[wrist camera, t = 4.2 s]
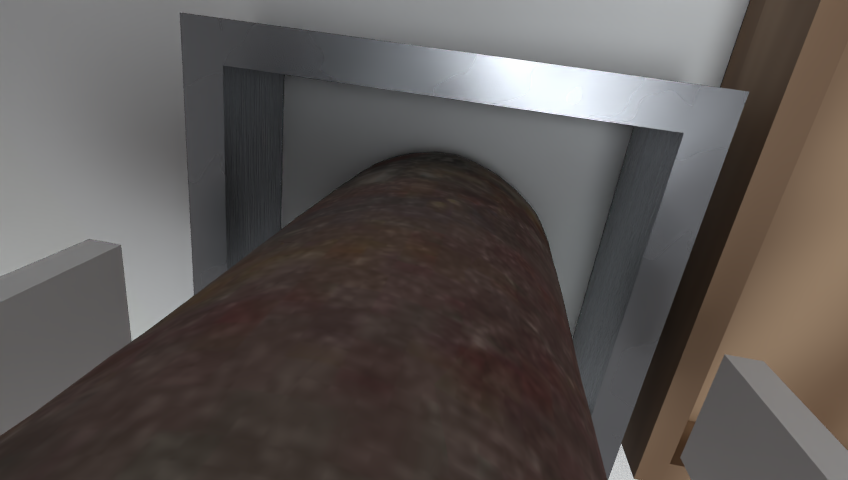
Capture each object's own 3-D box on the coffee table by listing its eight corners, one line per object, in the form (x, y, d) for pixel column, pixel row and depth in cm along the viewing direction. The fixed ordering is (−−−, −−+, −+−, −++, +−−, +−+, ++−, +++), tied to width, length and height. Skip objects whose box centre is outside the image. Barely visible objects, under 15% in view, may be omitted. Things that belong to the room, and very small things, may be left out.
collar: (252, 372, 18) (201, 438, 15) (252, 26, 14) (179, 12, 11) (573, 436, 17) (592, 521, 14) (683, 86, 13) (749, 91, 10)
